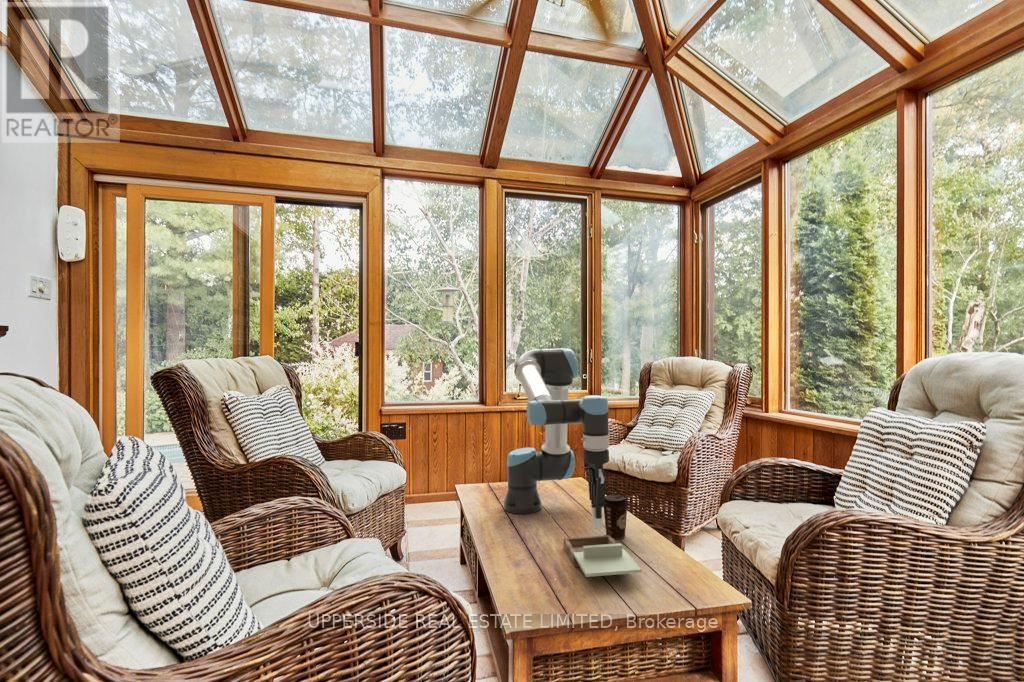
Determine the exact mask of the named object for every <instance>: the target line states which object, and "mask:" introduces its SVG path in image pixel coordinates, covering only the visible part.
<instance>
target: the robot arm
mask: <svg viewBox="0 0 1024 682" xmlns="http://www.w3.org/2000/svg"><path fill="white" fill-rule="evenodd" d="M514 365H515V366H514V375H515V377H516V379H517V380H518V382H519V383H521V384H522V387H523V388H522V389H523V390H524V392H525V395H526V398H527V400H528V402H527V405H526V417H527V422H528V424H529V425H532V426H545V436H544V437H545V440H544V441H545V442H544V443H543V444H542V445H541V449H540V450H539V451H537V450H536V448H534V447H521V448H520V447H519V448H517V449H513V450H511V451H510V452H509V453H508V454H507V460H506V461H507V463H506V466H507V468H506V469H507V491H506V494H505V498H504V501H503V510H504V511H506V512H507V513H511V514H516V515H517V514H518V515H526V514H533V513H537V512H539V511H540V510H542V507H543V506H542V505H543V504H542V500H541V497H540V494H539V490H538V486H537V484H538V482H544V481H545V482H546V481H562V480H569V479H570V478H571V477H572V476H573V474H574V472H575V465H576V464H575V463H576V460H575V454H574V451H573V450H572V449H571V447H570V445H569V444H568V443H567V442H568V441H567V439H568V424H569V425H570V424H582V437H581V438H580V439H581V442H582V445H583V448H584V449H582V452H583V453H582V457H583V458H582V460H583V462H584V463H585V464H588V465H589V466H587V467H586V473H587V480H588V481H587V483H588V485H587V486H588V494H589V496H588V498H589V501H591V502H590V503H591V506H590V507H591V519H592V520H591V524H592V525H591V527H592V529H593V530H600V529H603V527H604V525H603V508H604V507H605V496H606V489H607V488H606V486H607V481H608V478H607V476H605V468H604V464H607V463H609V462H610V452H609V447H610V435H609V434H610V433H609V409H610V407H609V402H608V401H609V400H608V398H607V396H604V395H599V394H598V395H594V394H593V395H591V394H590V395H585V396H584V397H580V396H579V397H577V398H574V399H573V398H571V399H569V388H570V386H572V385H573V381H574V379H577V377H578V375H579V367H578V361H577V357H576V355H575V352H574V351H573V349H571V348H562V347H560V348H559V347H558V348H535V349H530V350H528V351H525V352H524V353H523V354H522V355H520V356H519V358H518V359H517V361H516V362H515V364H514Z"/></svg>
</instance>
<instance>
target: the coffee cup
mask: <svg viewBox="0 0 1024 682" xmlns="http://www.w3.org/2000/svg"><path fill="white" fill-rule="evenodd" d="M628 505H629V502H628V500H627V499H626V497H625V496H623V495H622V494H609V495H605V507H603V515H604V525H605V535H610V536H611V537H612V538H613V540H621V539H623V538H625V537H626V528H627V527H626V526H627V517H628V516H627V513H628V509H627V506H628Z"/></svg>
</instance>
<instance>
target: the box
mask: <svg viewBox="0 0 1024 682" xmlns="http://www.w3.org/2000/svg"><path fill="white" fill-rule="evenodd" d="M603 544H617V542H616V540H615V539H613V538H612V537H611V536H610V535H606V534H604V535H589V536H576V537H564V538H563V549H564V552H565V553H566V556H567V557H568V558H569V561H570V562H571V564H572V565H573V568H581V567H580V565H579V564H578V562H577V560H576V559H575V557H574V552H583V546H589V545H603Z"/></svg>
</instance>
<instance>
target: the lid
mask: <svg viewBox="0 0 1024 682" xmlns="http://www.w3.org/2000/svg"><path fill="white" fill-rule="evenodd" d="M616 543H617V542H616ZM574 557H575V559H576V560H577V562H578V564H579V565H580V567H579V568H580V569H581V571H582V572H583V574H584V576H585V577H586V578H587V577H588V578H590V577H600V576H613V575H627V574H638V573H640V574H641V573H642V568H641V567H640V566H639V565H638V564H637V563H636V561H635V560H634V559H633V557H632V556H631V555H630V554H629V553H628V552H627V551H626V550H625V549H624V548H623V544H622V543H617V544H603V545H589V546H583V552H574Z"/></svg>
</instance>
